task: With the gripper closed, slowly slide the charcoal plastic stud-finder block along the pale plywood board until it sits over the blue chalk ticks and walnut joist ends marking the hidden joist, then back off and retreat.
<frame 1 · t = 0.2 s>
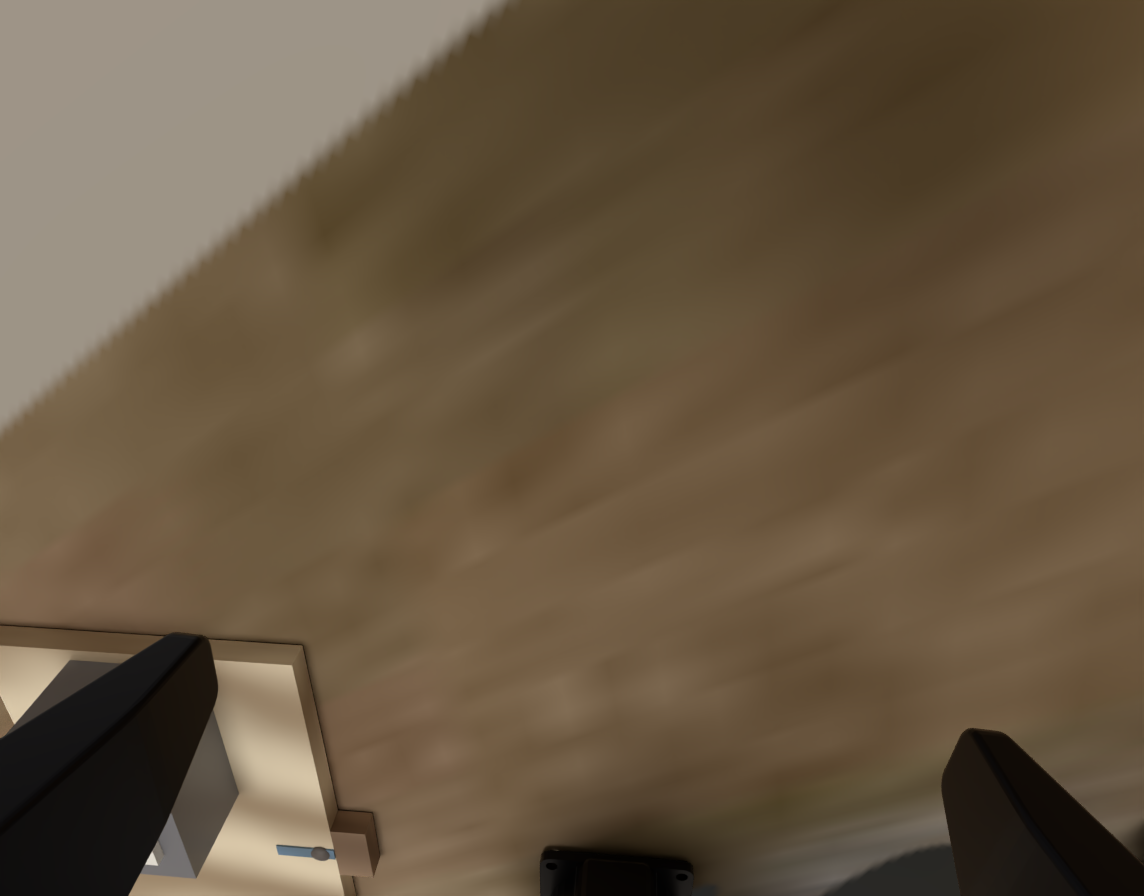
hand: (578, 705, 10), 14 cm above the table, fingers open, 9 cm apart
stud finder: (158, 730, 31), point 1 cm above the table, touching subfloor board
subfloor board: (194, 776, 34), on the table
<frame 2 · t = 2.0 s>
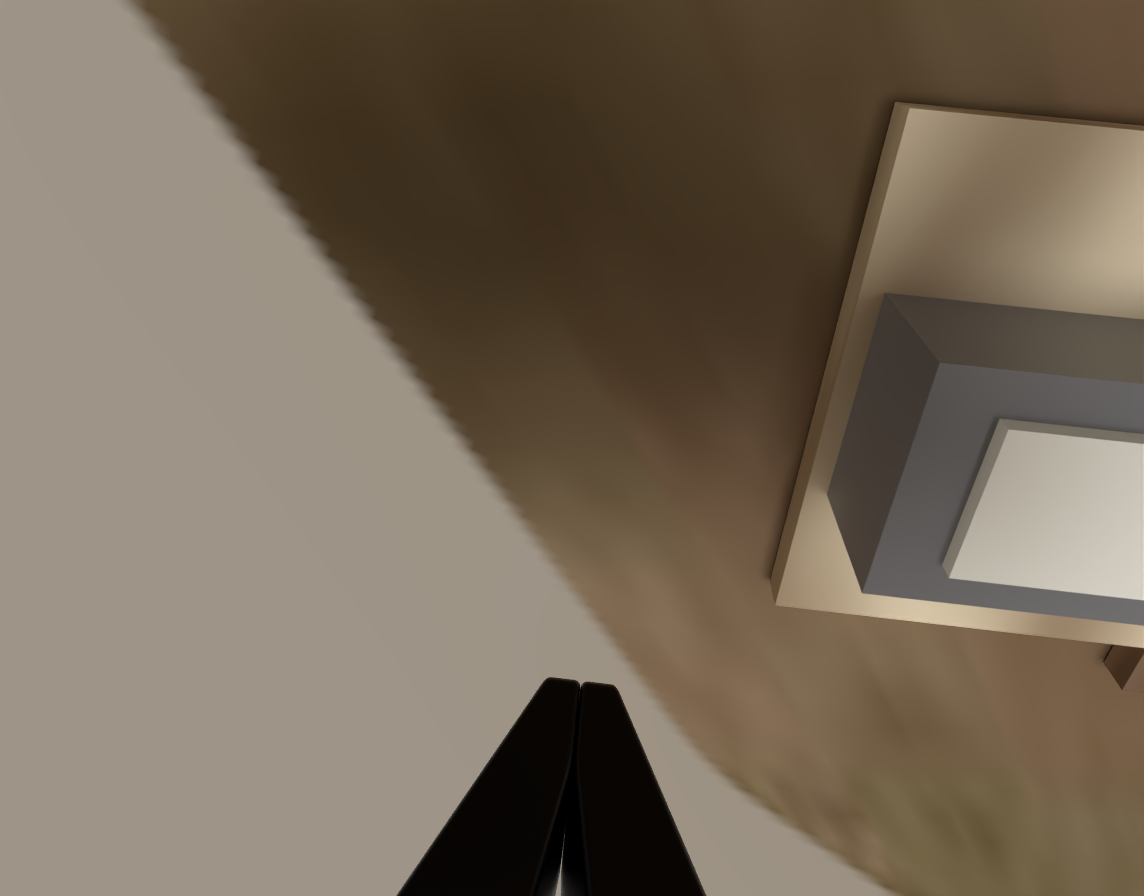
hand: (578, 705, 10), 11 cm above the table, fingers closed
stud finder: (1013, 418, 18), point 1 cm above the table, touching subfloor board
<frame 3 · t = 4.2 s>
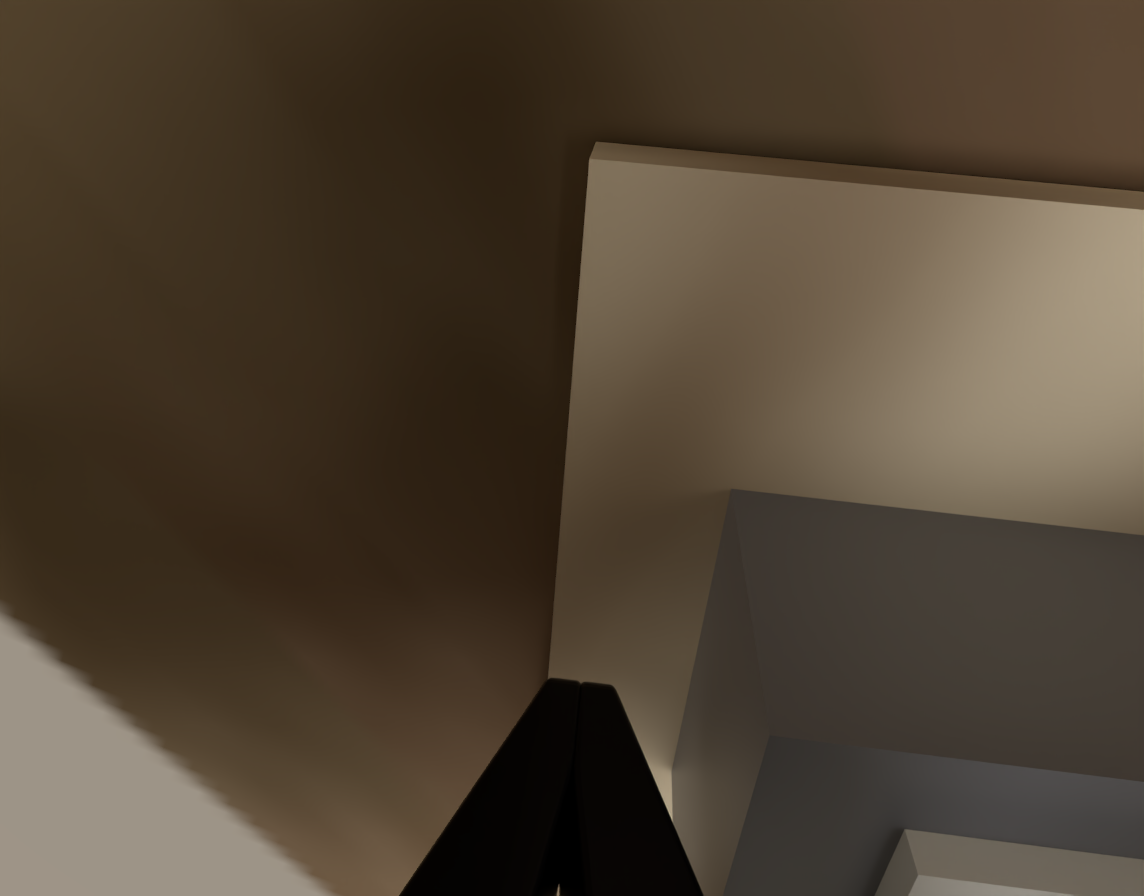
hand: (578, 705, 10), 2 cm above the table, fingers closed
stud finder: (965, 679, 11), point 1 cm above the table, touching gripper, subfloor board
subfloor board: (1126, 644, 11), on the table
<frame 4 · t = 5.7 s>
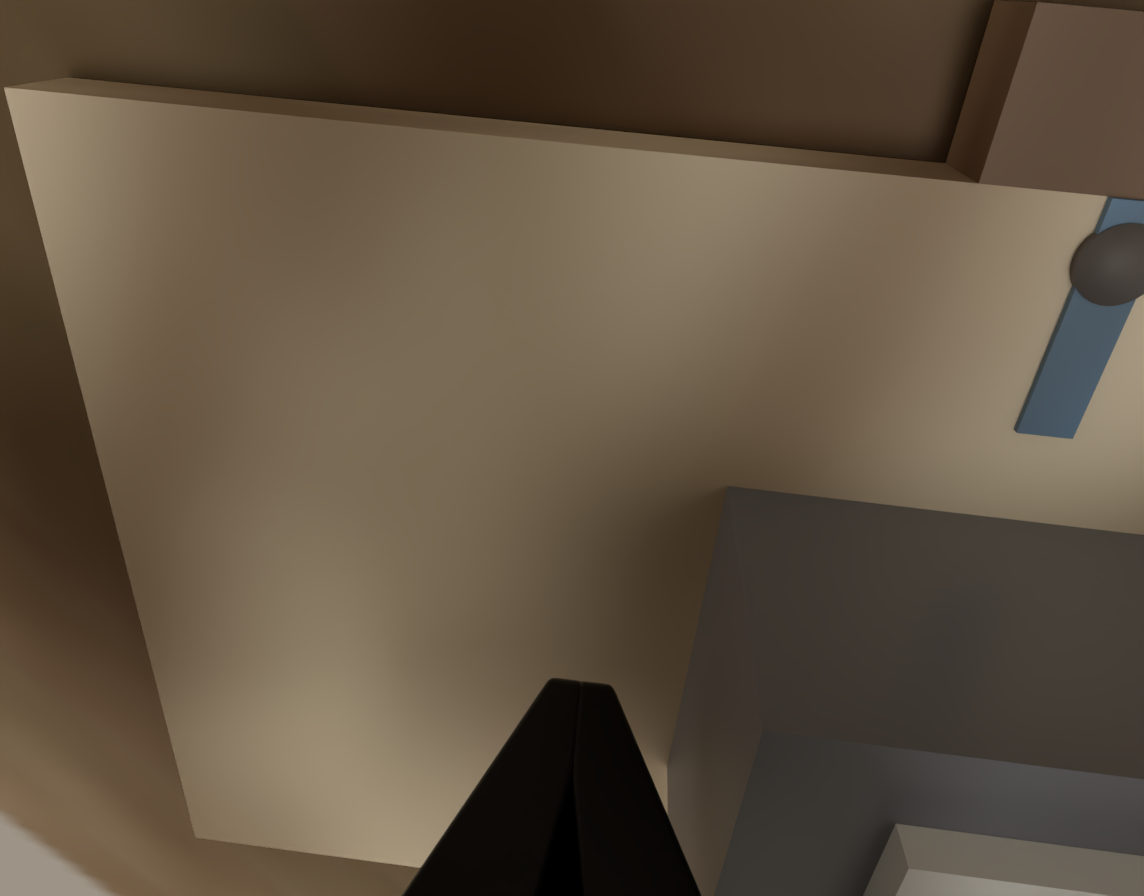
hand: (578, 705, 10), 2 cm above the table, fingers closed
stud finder: (958, 675, 11), point 1 cm above the table, touching gripper, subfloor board
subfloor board: (708, 588, 12), on the table
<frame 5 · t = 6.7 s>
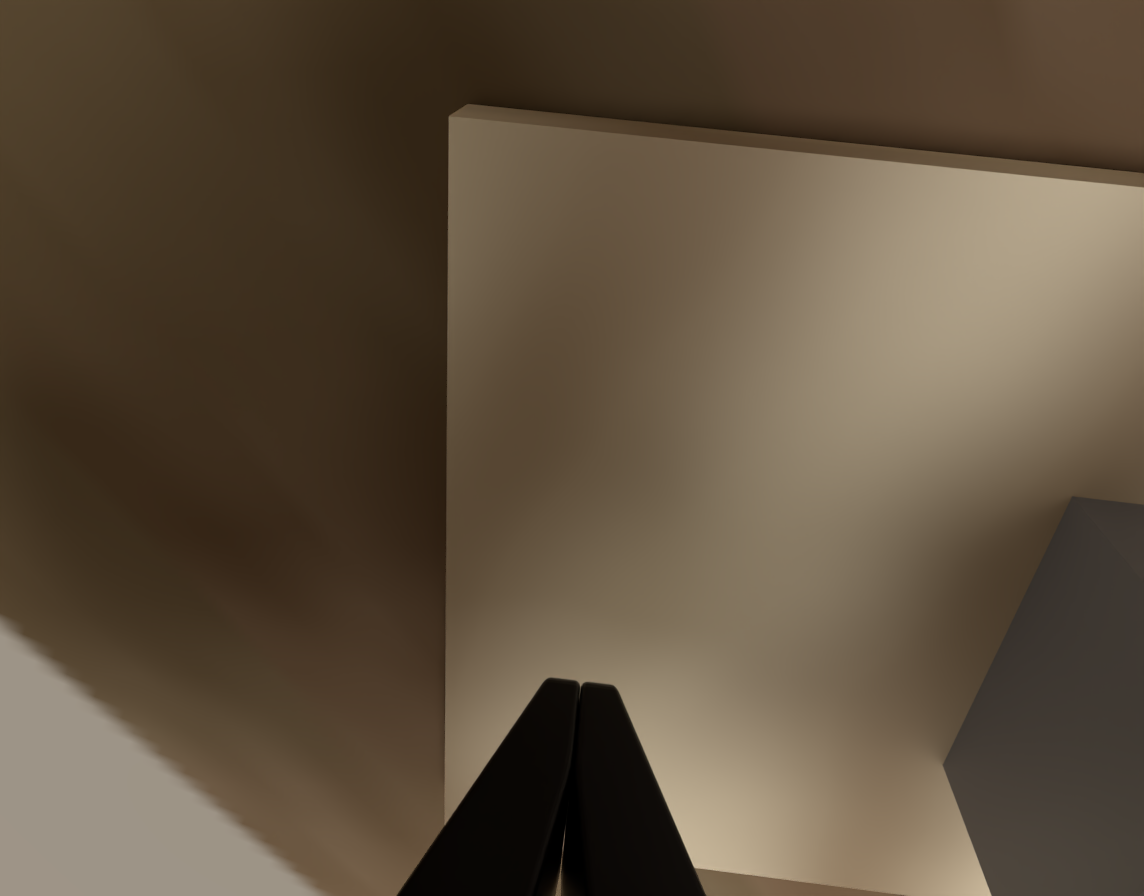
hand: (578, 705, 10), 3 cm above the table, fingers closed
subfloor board: (993, 593, 12), on the table
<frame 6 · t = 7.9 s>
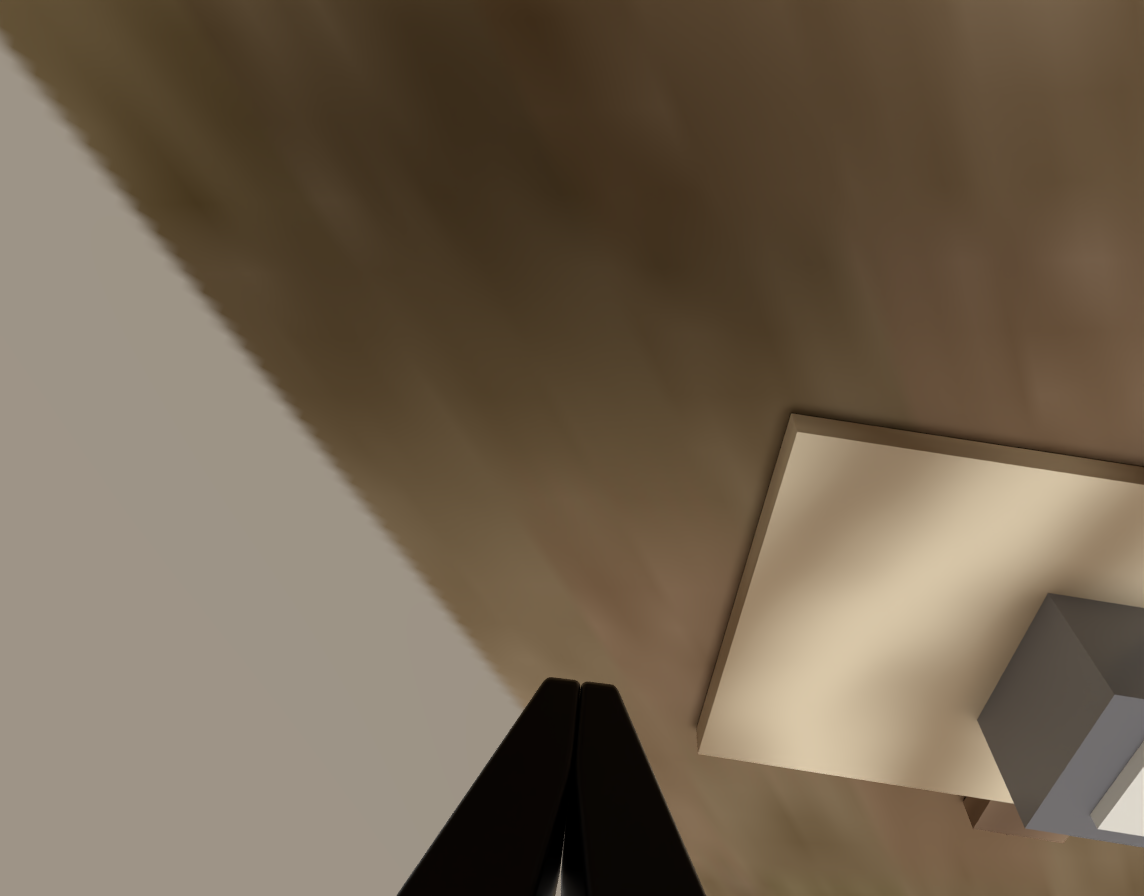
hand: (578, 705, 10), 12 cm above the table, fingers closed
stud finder: (1132, 679, 23), point 1 cm above the table, touching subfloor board
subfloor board: (1006, 633, 24), on the table
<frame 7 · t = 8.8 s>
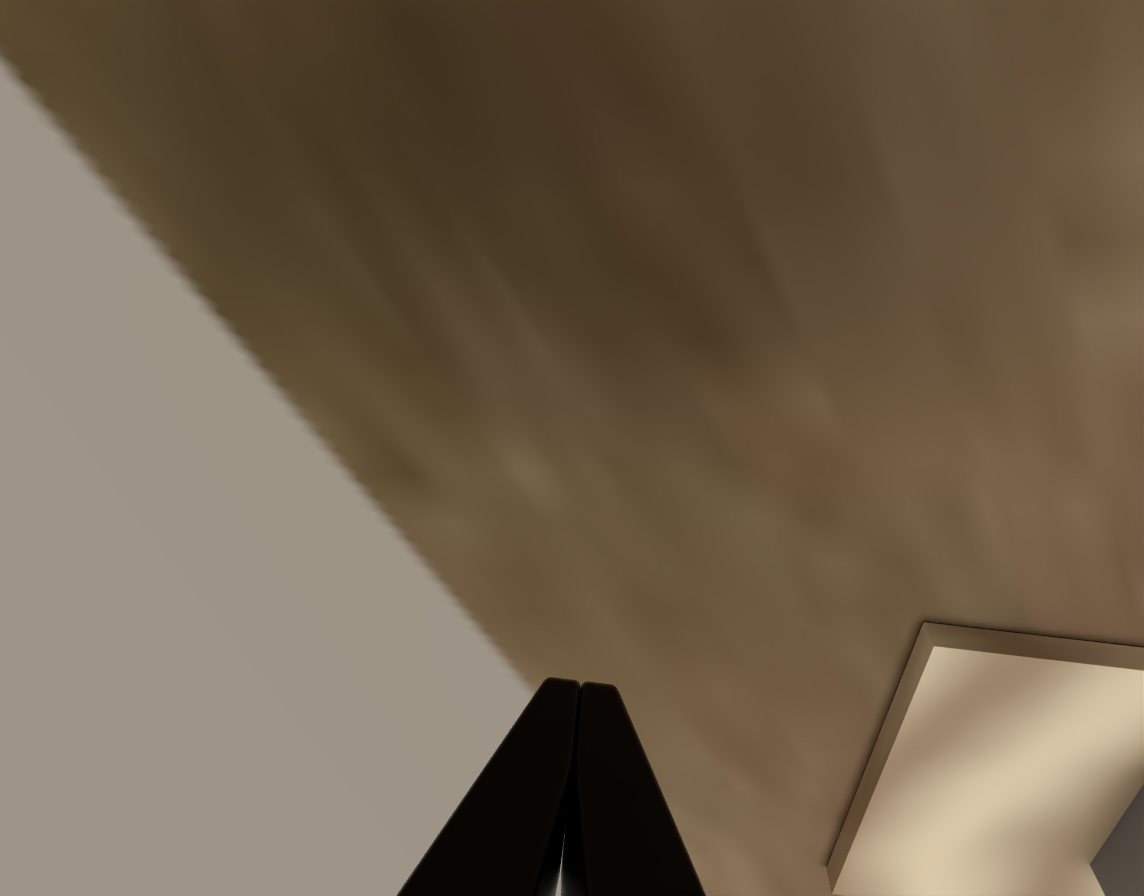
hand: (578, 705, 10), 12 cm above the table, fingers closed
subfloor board: (1114, 788, 26), on the table
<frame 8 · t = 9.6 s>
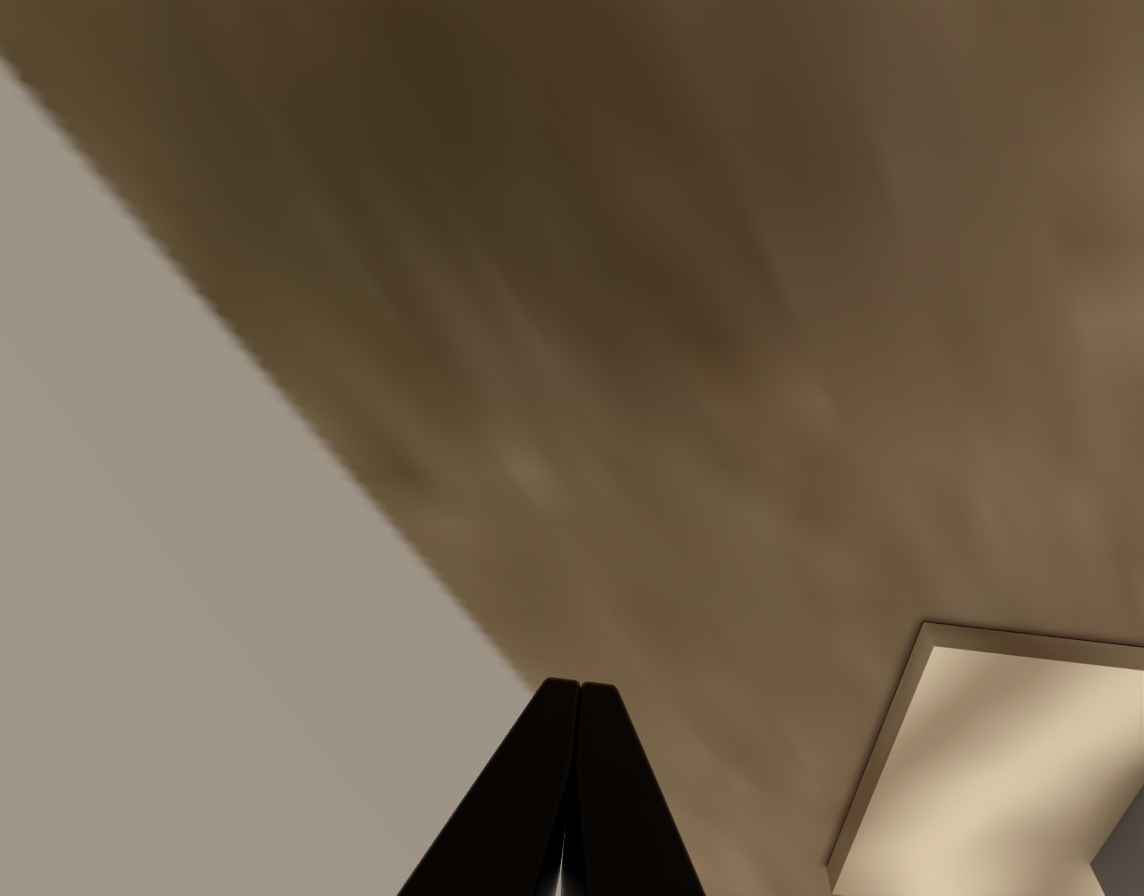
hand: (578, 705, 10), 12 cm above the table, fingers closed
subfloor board: (1114, 788, 26), on the table
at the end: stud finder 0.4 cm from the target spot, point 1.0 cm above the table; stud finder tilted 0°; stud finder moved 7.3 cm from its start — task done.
